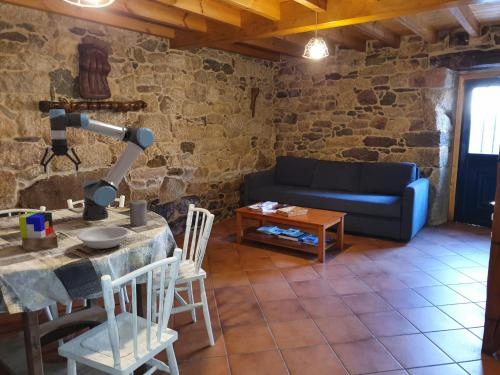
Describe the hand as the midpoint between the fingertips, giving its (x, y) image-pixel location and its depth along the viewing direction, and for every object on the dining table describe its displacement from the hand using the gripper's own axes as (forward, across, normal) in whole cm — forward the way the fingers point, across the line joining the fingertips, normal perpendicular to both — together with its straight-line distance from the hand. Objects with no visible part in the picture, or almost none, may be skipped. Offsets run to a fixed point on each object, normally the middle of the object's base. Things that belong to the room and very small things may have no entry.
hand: (62, 177), depth 210 cm
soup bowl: (+29, +20, -40) cm, 53 cm away
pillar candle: (+29, +39, -5) cm, 49 cm away
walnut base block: (+29, -9, -29) cm, 42 cm away
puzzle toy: (+23, -10, -29) cm, 39 cm away
